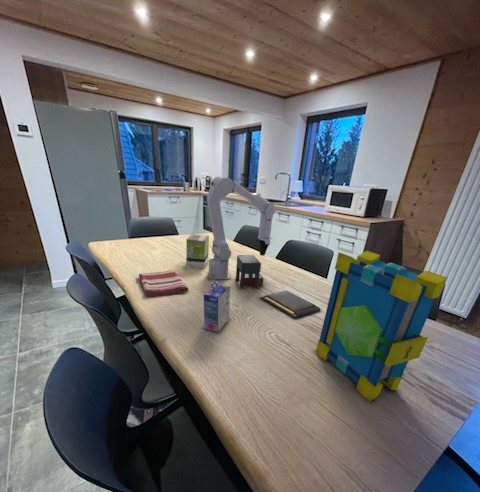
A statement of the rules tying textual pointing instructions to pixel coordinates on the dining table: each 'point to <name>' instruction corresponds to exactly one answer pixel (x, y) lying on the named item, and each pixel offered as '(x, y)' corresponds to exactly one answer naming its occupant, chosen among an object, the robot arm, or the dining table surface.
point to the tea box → (197, 251)
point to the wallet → (290, 304)
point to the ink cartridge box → (216, 307)
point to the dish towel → (162, 283)
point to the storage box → (252, 280)
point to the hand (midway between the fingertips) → (262, 255)
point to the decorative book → (376, 320)
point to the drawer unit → (247, 268)
